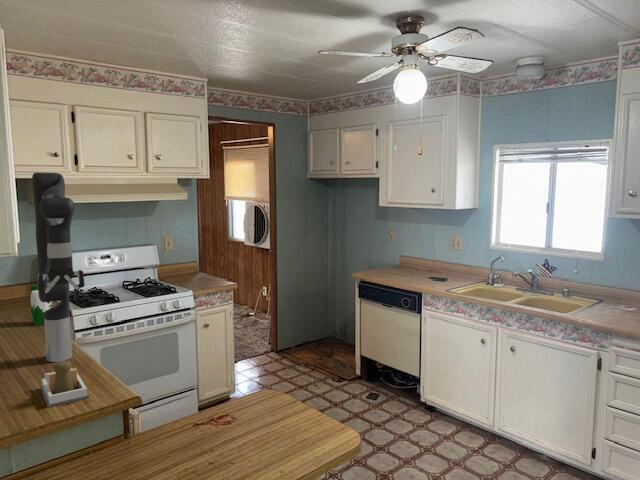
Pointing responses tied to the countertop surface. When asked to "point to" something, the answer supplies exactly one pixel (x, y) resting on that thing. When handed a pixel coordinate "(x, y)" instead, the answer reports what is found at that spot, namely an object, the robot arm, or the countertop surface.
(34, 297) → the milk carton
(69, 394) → the white walled tray
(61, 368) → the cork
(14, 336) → the countertop surface
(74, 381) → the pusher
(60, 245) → the robot arm
